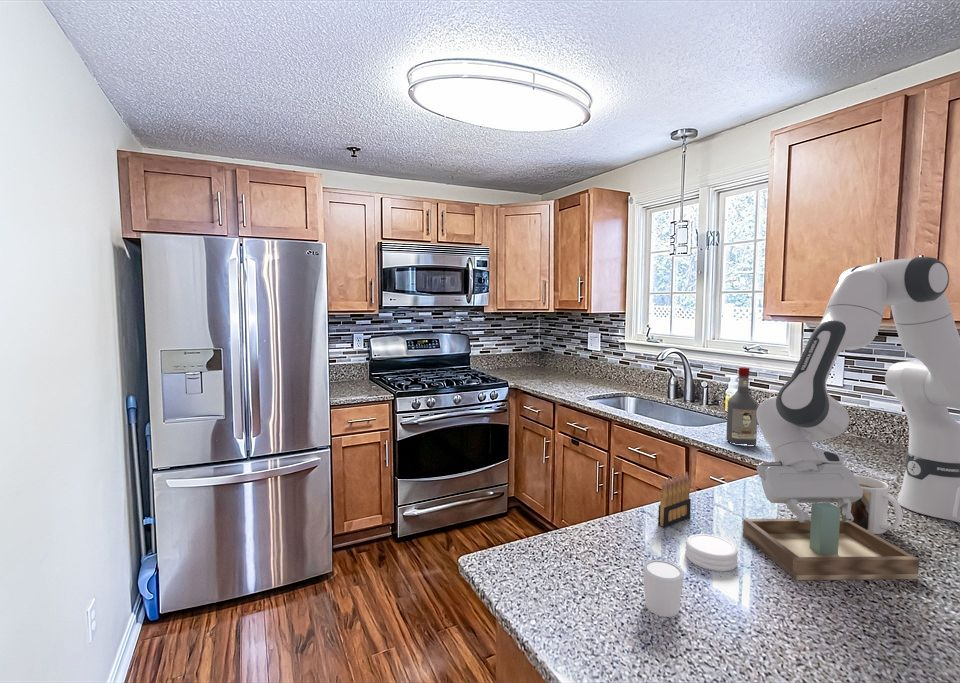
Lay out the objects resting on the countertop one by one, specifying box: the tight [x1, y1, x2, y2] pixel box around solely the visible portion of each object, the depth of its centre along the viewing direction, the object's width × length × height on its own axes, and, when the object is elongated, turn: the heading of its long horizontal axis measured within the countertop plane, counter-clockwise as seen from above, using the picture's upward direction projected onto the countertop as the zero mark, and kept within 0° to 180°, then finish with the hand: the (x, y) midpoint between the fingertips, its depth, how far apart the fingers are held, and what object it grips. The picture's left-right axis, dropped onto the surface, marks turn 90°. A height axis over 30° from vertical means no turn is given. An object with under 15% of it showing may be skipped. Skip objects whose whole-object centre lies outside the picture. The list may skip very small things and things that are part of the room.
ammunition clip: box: [657, 471, 692, 529], centre depth 119 cm, size 11×2×12 cm, turn 123°
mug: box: [835, 474, 904, 535], centre depth 116 cm, size 10×12×11 cm
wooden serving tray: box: [742, 518, 920, 581], centre depth 103 cm, size 24×18×4 cm
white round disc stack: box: [684, 533, 739, 572], centre depth 102 cm, size 10×10×4 cm
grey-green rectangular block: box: [809, 503, 841, 555], centre depth 103 cm, size 4×3×10 cm
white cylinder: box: [642, 559, 685, 618], centre depth 85 cm, size 7×7×7 cm
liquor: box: [725, 366, 759, 445], centre depth 188 cm, size 9×9×30 cm
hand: (827, 521), depth 102 cm, fingers open, 8 cm apart
